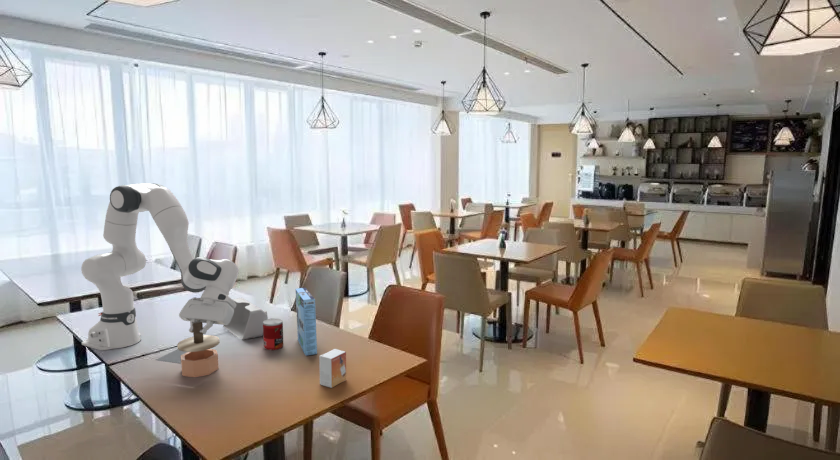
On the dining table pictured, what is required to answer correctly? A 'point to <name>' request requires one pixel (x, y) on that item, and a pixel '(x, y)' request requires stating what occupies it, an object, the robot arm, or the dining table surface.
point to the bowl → (199, 363)
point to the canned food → (273, 334)
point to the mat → (172, 357)
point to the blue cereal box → (306, 321)
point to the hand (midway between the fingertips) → (196, 332)
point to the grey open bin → (246, 320)
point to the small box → (332, 368)
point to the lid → (198, 340)
